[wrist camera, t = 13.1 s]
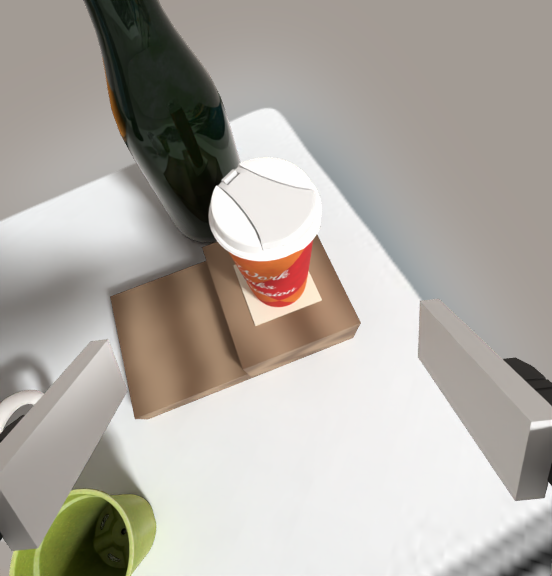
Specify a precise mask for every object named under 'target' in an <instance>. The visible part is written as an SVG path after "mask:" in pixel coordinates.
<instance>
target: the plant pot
mask: <svg viewBox="0 0 552 576" xmlns="http://www.w3.org/2000/svg"><path fill="white" fill-rule="evenodd" d="M107 514H108V515H109V516H108V518H107V520H106V521H105V524H104V526H103V529H101V523H102V521H103V518H104V517H105V515H107ZM123 528H125V529H126V533H125V534H124V535H122V533H121V531H122V529H123ZM155 533H156V521H155V518H154V514H153V511H152V508H151V506H150V504H149V503H148V502H147V501H146V500H145V499H144V498H142V497H140V496H137V495H133V494H122V495H109V494H107V493H105V492H102V491H99V490H95V489H86V488H83V489H74V490H71V491H70V493H69V495H68V497H67V498H66V500H65V502H64V504H63V505H62V507H61V509H60V511H59V512H58V514H57V516H56V518H55V520H54V521H53V523H52V525H51V527H50V528H49V530H48V532H47V534H46V535H45V537H44V539H43V541H42V542H41V544H40V546H39V548H37V549H27V550H17V551H14V552H13V555H12V560H11V565H10V572H9V576H131V574H132V573H133V572H134V570H135V569H136V568H137V566H138V565H139V564H140V563H141V561H142V560H143V559H144V557H145V556H146V555H147V553H148V552H149V550H150V549H151V547H152V544H153V541H154V538H155ZM109 553H110V554H111V555H113V556H115V557H116V558H118V559H120V561H118V562H116V561H112V560H111V559H109V557H108V554H109Z"/></svg>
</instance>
